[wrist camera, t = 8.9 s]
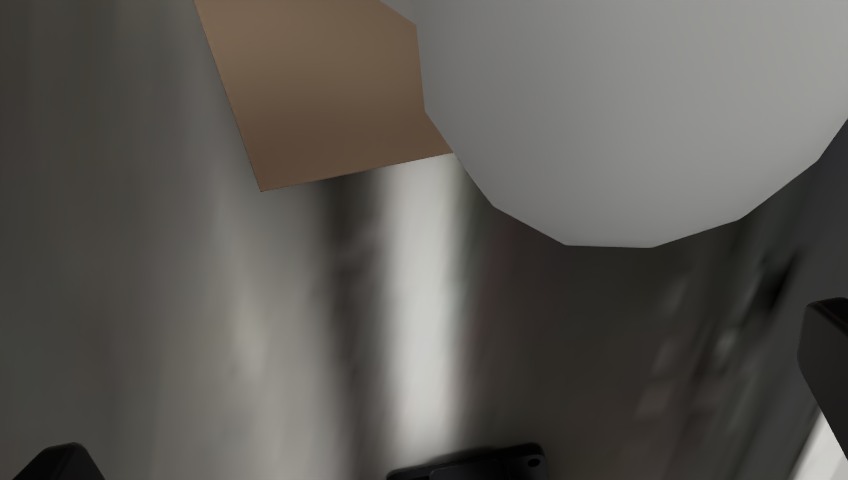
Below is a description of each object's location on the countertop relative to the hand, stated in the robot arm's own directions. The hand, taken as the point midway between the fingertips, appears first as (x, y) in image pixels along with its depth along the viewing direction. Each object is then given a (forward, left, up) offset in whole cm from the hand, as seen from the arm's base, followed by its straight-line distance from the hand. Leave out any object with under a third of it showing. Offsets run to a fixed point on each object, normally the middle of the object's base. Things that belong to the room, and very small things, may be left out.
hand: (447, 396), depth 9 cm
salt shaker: (+4, -2, -12) cm, 13 cm away
